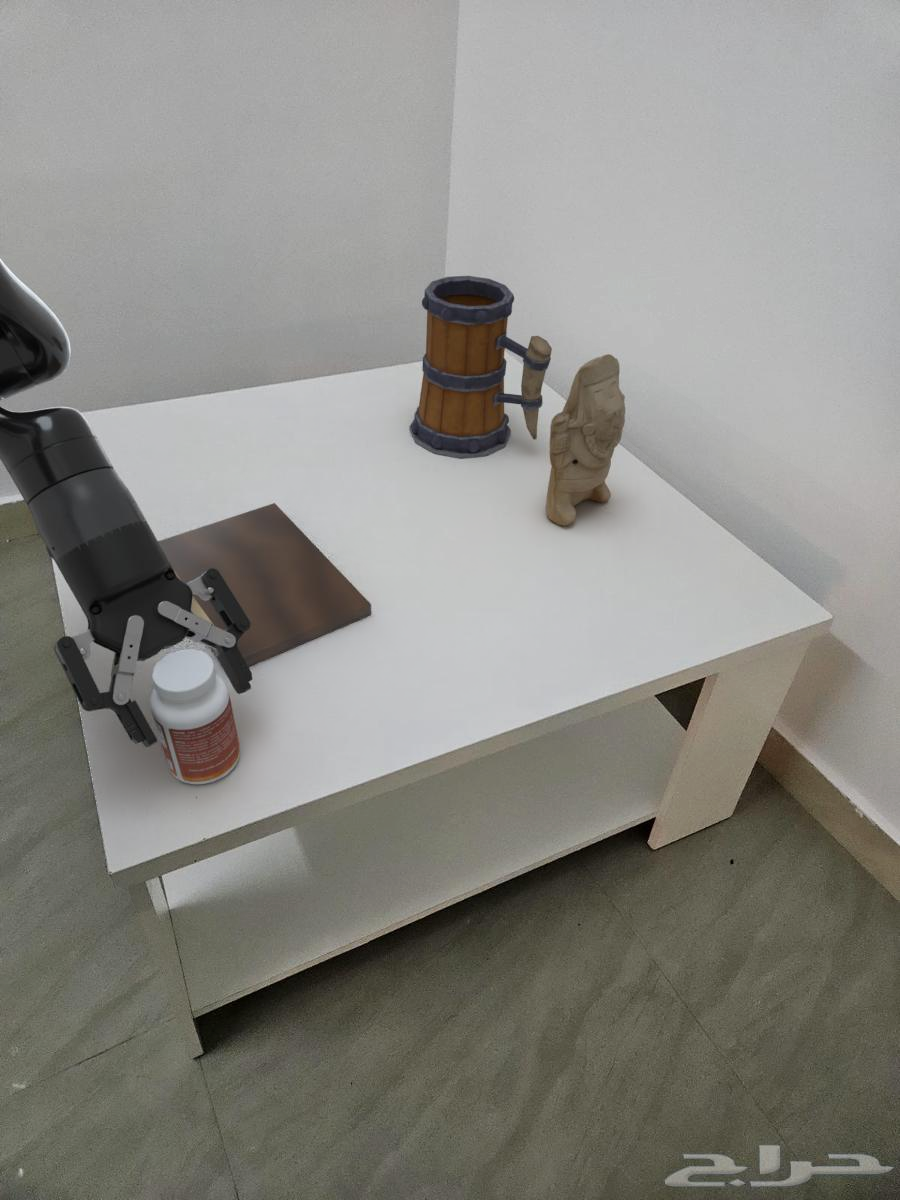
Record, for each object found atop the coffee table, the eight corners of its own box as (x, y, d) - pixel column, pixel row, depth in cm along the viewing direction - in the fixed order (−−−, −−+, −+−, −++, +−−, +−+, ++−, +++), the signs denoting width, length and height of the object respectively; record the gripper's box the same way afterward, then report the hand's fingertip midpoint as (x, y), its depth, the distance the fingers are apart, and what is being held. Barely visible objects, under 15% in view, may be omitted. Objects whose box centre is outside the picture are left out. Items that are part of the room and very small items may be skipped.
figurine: (561, 541, 97) (588, 386, 84) (519, 513, 102) (538, 360, 88) (630, 504, 104) (665, 356, 91) (588, 479, 108) (615, 333, 95)
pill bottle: (255, 745, 72) (240, 656, 65) (213, 797, 68) (192, 709, 61) (196, 721, 74) (175, 632, 67) (152, 771, 70) (124, 682, 62)
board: (229, 675, 79) (227, 663, 77) (146, 556, 92) (143, 544, 91) (371, 614, 86) (371, 603, 85) (275, 512, 99) (274, 501, 98)
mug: (558, 435, 117) (579, 295, 104) (513, 481, 107) (530, 333, 94) (441, 398, 123) (448, 263, 110) (389, 438, 114) (389, 295, 101)
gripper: (13, 565, 58) (127, 763, 59) (192, 493, 65) (289, 670, 67) (6, 586, 64) (109, 765, 65) (170, 518, 72) (259, 679, 73)
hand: (200, 716), depth 66 cm, fingers open, 8 cm apart
